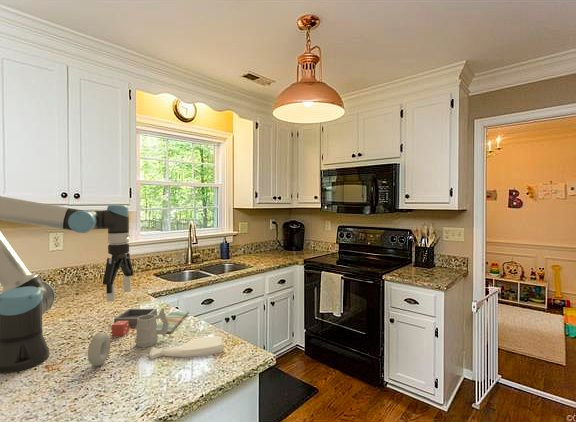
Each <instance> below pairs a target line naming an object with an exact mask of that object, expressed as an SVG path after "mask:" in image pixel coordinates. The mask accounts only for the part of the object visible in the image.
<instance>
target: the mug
mask: <svg viewBox="0 0 576 422" xmlns="http://www.w3.org/2000/svg"><path fill="white" fill-rule="evenodd" d="M166 317H167V315H166V313H165V308H164V307H162V308H161V310H160V311H159V315H158V314H157V316H155V315H152V314H148V315H142V316H139V317H138V318H137V326H135V330H136V338H135V344H136V347H138V348H148V347H153V346H155V345H156V344H157V342H158V337H159V336H158V335H162V336H163V337H165V336H166V334H167V333H166V332H167V331H168V325H169V323H168V320H167V318H166ZM159 319H160V320H161V321H163V327H162V329H161V330H160V329H156V326H157V325H158V323H157V320H159Z"/></svg>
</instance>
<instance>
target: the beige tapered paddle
mask: <svg viewBox="0 0 576 422" xmlns="http://www.w3.org/2000/svg"><path fill="white" fill-rule="evenodd" d="M223 352H224V343H223V338H222V337H221V335H217V336H216V335H215V336H214V335H213V336H205V337H197V338H194V339H193V338H192V339H190V340H188V341H187V342H185V343H183V344H182V345H181V346H176V347H168V346H164V347H160V348H157V347H155V346H151V348H150V349H149V355H148V357H149V358H150V359H151V360H154V359H156V358H159V357H174V358H178V357H179V358H193V357H203V356H204V357H205V356H210V355H215V354H220V353H223Z"/></svg>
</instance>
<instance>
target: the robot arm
mask: <svg viewBox="0 0 576 422" xmlns="http://www.w3.org/2000/svg"><path fill="white" fill-rule="evenodd" d="M129 211H130V210H129V206H127V205H125V204H124V205H123V204H122V205H121V204H120V205H119V204H116V205H115V204H110V205H109V204H108V206H107V209H103V210H101V209H100V210H97V209H94V210H93V209H92V210H91V209H88V210H87V209H86V210H85V209H84V210H83V209H78V208H70V207H64V206H60V205H59V206H58V205H53V204H47V203H42V202H36V201H30V200H25V199H18V198H13V197H8V196H7V197H6V196H0V221H3V222H11V223H12V222H13V223H19V224H26V225H33V226H39V227H47V228H51V229H52V228H53V229H60V230H66V231H73V232H75V233H79V234H86V233H88V232H91V231H92V230H94V231H95V230H107V243H108V245H107V253H108V254H109V255H111V257H107V259H106V264H105V265H106V267H105V270H104V274H103V279H102V285H103V286H105V287H106V288H105V290H106V296H105V297H106V303H107V302H113V303H114V302H115V301H116V297H115V294H116V293H115V291H116V289H115V288H116V287H115V286H116V285H115V283H114V282H115V279H116V277H117V274H118V270H119V269H121V271H122V273H123V275H124V276H123V277H122V278H123V280H122V283H123V285H122V286H123V293H130V292H132V285H131V284H132V283H131V282H132V281H131V277H133V276H134V268H133V266H132V264H133V263H132V262H131V255H130V244H129V242H130V237H131V235H130V216H129V215H130V214H129ZM0 285H1V286H2V290H1V293H0V374H10V373H15V372H16V373H17V372H20V371H24V370H27V369H29V368H33V367H35V366H38V365H40V364H42V363H43V362H45V361H46V360H47V359H48V358H49V357H50V348H49V346H48V344H47V342H46V340H45V336H44V335H43V316H44V314H45V313H46V312H48V311H49V309H51V307H52V306H53V305H54V301H55V297H56V293H55V289H54V288H53V287H52V285H50V284H49V283H47V282H45V281H44V280H43V279H42V278H41V276H40V275H39V274H37V273H32V272H30V270H29V269H28V268H27V266H26V264H25V263H24V261H22V259H21V258H20V256H19V255H18V254H17V252H16V251H15V249H14V248H13V246H12V245H11V243H10V242H9V241H8V240H7V238H6V237H5V236H4V235H3V233H2V231H1V230H0Z"/></svg>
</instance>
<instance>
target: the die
mask: <svg viewBox="0 0 576 422" xmlns="http://www.w3.org/2000/svg"><path fill="white" fill-rule="evenodd" d="M129 327H130V326H129V321H117V322H115V323H114V322H113V323H112V324H111V336H112V337H124V336H126V335H127V334H128V333H129V332H130V328H129Z"/></svg>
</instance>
